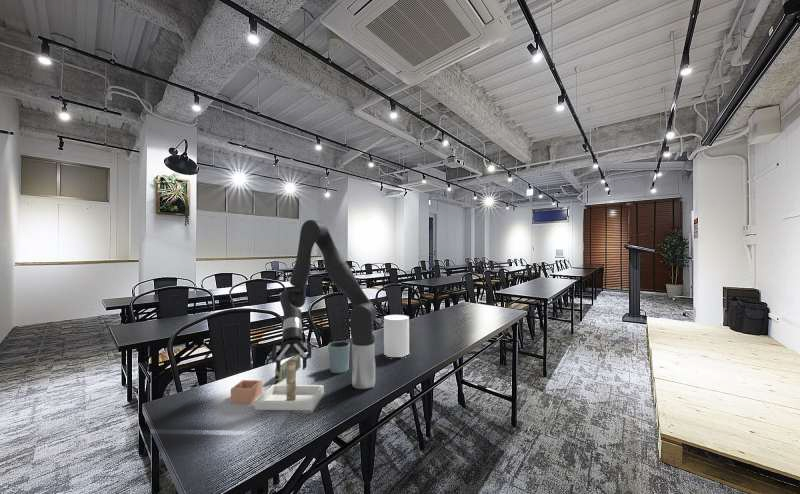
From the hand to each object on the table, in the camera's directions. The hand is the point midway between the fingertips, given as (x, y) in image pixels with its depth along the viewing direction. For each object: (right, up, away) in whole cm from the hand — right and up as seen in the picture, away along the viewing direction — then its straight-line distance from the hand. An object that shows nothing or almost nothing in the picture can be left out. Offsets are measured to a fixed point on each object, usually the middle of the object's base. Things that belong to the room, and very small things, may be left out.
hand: (291, 370), depth 111 cm
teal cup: (+11, -12, +31) cm, 35 cm away
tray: (0, -11, -1) cm, 12 cm away
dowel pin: (0, -10, -1) cm, 10 cm away
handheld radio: (-10, -13, +22) cm, 27 cm away
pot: (-17, -12, +1) cm, 20 cm away
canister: (+38, -13, +52) cm, 66 cm away
